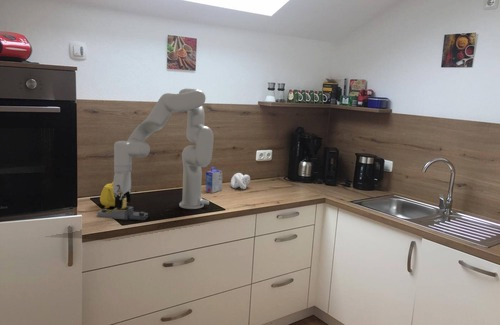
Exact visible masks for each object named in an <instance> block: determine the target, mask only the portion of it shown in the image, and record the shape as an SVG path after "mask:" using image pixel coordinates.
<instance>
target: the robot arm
mask: <svg viewBox="0 0 500 325" xmlns="http://www.w3.org/2000/svg"><path fill="white" fill-rule="evenodd" d="M206 99H207V98H206V94H205V93H204V92H203V90H200V89H195V88H183V89H180V90H179V92H178V93H171V92H170V93H168V92H167V93H163V94H162V95H161V96H160V97H159V99H158V100H157V102H156V104H155V105H154V107H153V108H152V110H151V111H150V113H149V114H148V116H147V117H146V119H144V120H142V122H141V123H140V124H139V125H137V126H136V127H135V129H134V130H133V131H132V132H131V134H130V136H129V137H128V138H127V140H118V141H115V142H114V144H113V151H114V153H113V162H114V163H113V170H114V171H113V172H114V174H113V180H112V182H113V193H114V197H115V198H114V199H115V206H114V208H122V199H121V198H122V195H123V194H124V195H126V202H127V203H131V193H132V191H131V189H132V175H131V173H132V163H133V162H132V158H146V157H147V156H148V155H149V154H150V152H151V147H150V145H149V143H147V142H146V140H147V138H149V136H151V135H152V134H153V133H155V132H158V131H161V130H162V129H163V128H164V127H165V125H166V124H167V123H168V120H169V119H170V117H171V116H172V114H173V113H182V112H187V122H186V135H185V136H186V139H187V140H188V142H190V143H193V144H195V145H193V144H192V145H191V144H190V145H187V146H185V147H184V148H183V150H182V152H181V160H182V161H181V162H182V171H183V172H182V196H181V197H182V200H181V201H180V202H179V206H178V207H180V208H182V209H187V210H197V209H198V210H199V209H202V208H204V205H210V201H209V199H204V198H203V196H202V178H203V171H202V170H203V169H202V168H206V167H208V166H209V165H210V163H211V161H212V158H213V150H214V149H213V148H214V139H215V138H214V132H213V130H212V128H210V126H209V127H208V126H207V125H205V119H206V118H205V116H206V114H205V113H206V112H205V109H204V108H205V107H204V106H203V105H204V104H205V102H206ZM118 192H121V193H118ZM119 195H120V196H119Z"/></svg>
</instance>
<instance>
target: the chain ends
mask: <svg viewBox="0 0 500 325" xmlns="http://www.w3.org/2000/svg"><path fill="white" fill-rule="evenodd" d="M96 213H97V215H96V216H97V217H101V218H102V217H103V218H111V219H114V220H115V219H116V220H124V221H127V220H132V221H133V220H135V221H136V220H137V221H145V220H148V218H149V212H145V211H140V212H139V211H134V206H128V205H126V210H120V208H115V207H114V208H113V209H109V208H102V209H100V210H98V211H97V212H96Z"/></svg>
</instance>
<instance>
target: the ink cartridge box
mask: <svg viewBox="0 0 500 325" xmlns="http://www.w3.org/2000/svg"><path fill="white" fill-rule="evenodd" d="M222 190H223V170H222V169H221V170H220V169H216V167H215V166H211V167H210V170H209V171H205V192H206V193H210V194H213V193H217V192H220V191H222Z"/></svg>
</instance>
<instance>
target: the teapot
mask: <svg viewBox="0 0 500 325" xmlns="http://www.w3.org/2000/svg"><path fill="white" fill-rule="evenodd" d="M118 193H121V192H118ZM123 195H124V194H123ZM119 196H120V195H119ZM114 198H115V197H114V193H113V181H112V182H111V183H106V184H105V185H104V187H103V188H102V190H101V193H100V197H99V201H100V204H101V205H102V206H104V207H103V209H110V208H111V207H115V199H114ZM127 204H128V202H126V205H127Z"/></svg>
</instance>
